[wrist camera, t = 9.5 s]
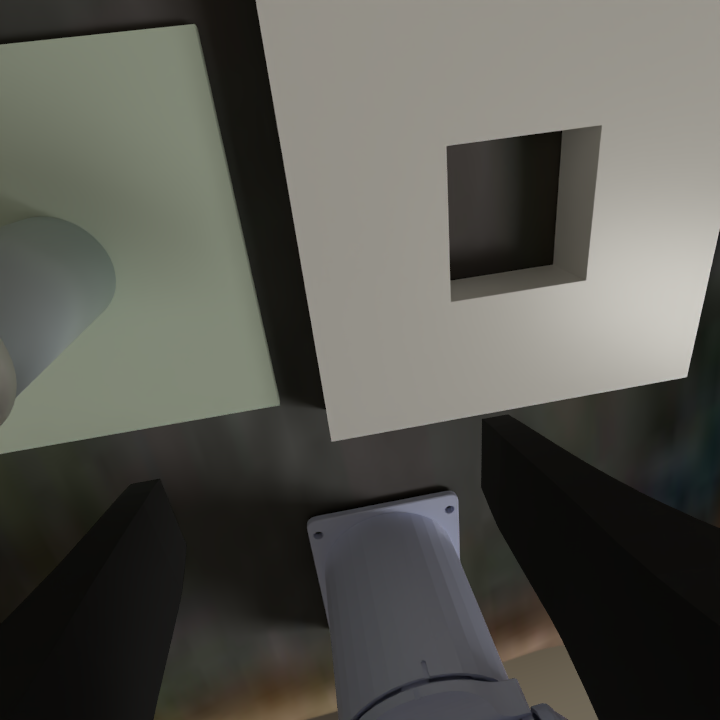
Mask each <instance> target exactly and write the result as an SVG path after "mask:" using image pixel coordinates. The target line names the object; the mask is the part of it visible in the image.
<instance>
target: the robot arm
mask: <svg viewBox="0 0 720 720" xmlns="http://www.w3.org/2000/svg"><path fill="white" fill-rule="evenodd" d="M481 488H482V490H483V493H484V495H485V498H486V500H487V503H488V505H489V507H490V510H491V512H492V514H493V517H494V519H495V521H496V524H497V526H498V528H499V530H500V531H501V533H502V535H503V537H504V539H505V540H506V542H507V544H508V546H509V547H510V549H511V551H512V553H513V554H514V556H515V558H516V560H517V561H518V563H519V565H520V566H521V568H522V570H523V572H524V573H525V575H526V577H527V578H528V580H529V582H530V584H531V585H532V587H533V589H534V591H535V592H536V594H537V596H538V597H539V599H540V601H541V603H542V604H543V606H544V608H545V609H546V611H547V613H548V615H549V616H550V618H551V620H552V622H553V624H554V626H555V627H556V629H557V631H558V633H559V635H560V637H561V639H562V641H563V643H564V645H565V647H566V649H567V651H568V653H569V656H570V658H571V660H572V662H573V664H574V666H575V669H576V671H577V673H578V675H579V677H580V679H581V681H582V684H583V686H584V688H585V690H586V692H587V694H588V697H589V699H590V701H591V704H592V706H593V708H594V710H595V713H596V715H597V717H598V719H599V720H720V528H718V527H715V526H713V525H711V524H708V523H706V522H703V521H701V520H699V519H696V518H694V517H692V516H690V515H688V514H685V513H683V512H681V511H679V510H677V509H674V508H672V507H670V506H668V505H666V504H663V503H661V502H659V501H657V500H655V499H653V498H651V497H649V496H647V495H645V494H643V493H641V492H639V491H637V490H635V489H633V488H631V487H629V486H628V485H626V484H624V483H622V482H620V481H618V480H616V479H614V478H613V477H611V476H609V475H607V474H605V473H604V472H602V471H600V470H598V469H596V468H595V467H593V466H591V465H589V464H588V463H586V462H584V461H583V460H581V459H579V458H578V457H576V456H574V455H573V454H571V453H569V452H568V451H566V450H564V449H563V448H561V447H560V446H558V445H556V444H555V443H553V442H552V441H550V440H548V439H547V438H545V437H544V436H542V435H540V434H539V433H537V432H536V431H534V430H532V429H531V428H529V427H528V426H526V425H525V424H523V423H521V422H520V421H518V420H516V419H515V418H513V417H511V416H510V415H502V416H497V417H492V418H486V419H482V470H481ZM448 506H451V507H449V508H446V507H448ZM307 531H308V535H309V540H310V544H311V549H312V553H313V558H314V562H315V566H316V571H317V575H318V580H319V584H320V589H321V593H322V598H323V602H324V607H325V611H326V616H327V620H328V625H329V629H330V634H331V645H332V655H333V666H334V676H335V687H336V697H337V708H338V718H339V720H568V719H566V718H565V717H563V716H562V715H560V714H559V713H557V712H555V711H554V710H553V709H552V708H551V707H550V706H549V705H547V704H543V703H542V704H538V705H535V706H532V707H531V711H530V708H529V706H528V704H527V702H526V699H525V697H524V694H523V692H522V690H521V688H520V686H519V683H518V681H517V679H515V678H512V679H508V676H507V674H506V671H505V669H504V666H503V664H502V662H501V659H500V657H499V654H498V652H497V650H496V647H495V645H494V642H493V640H492V638H491V635H490V633H489V630H488V628H487V625H486V623H485V621H484V618H483V616H482V613H481V611H480V609H479V606H478V604H477V601H476V599H475V597H474V594H473V592H472V589H471V587H470V584H469V582H468V580H467V577H466V575H465V572H464V570H463V568H462V565H461V563H460V546H459V510H458V498H457V496H456V494H455V493H454V492H453V491H443V492H438V493H433V494H428V495H423V496H417V497H412V498H407V499H402V500H397V501H392V502H387V503H381V504H376V505H371V506H366V507H361V508H356V509H351V510H345V511H340V512H335V513H330V514H325V515H320V516H315V517H312V518H310V519H309V520H308V522H307ZM316 532H321V533H319V534H316ZM186 547H187V545H186V543H185V540H184V538H183V535H182V533H181V530H180V528H179V525H178V523H177V520H176V518H175V515H174V513H173V510H172V508H171V505H170V503H169V501H168V498H167V496H166V493H165V491H164V488H163V486H162V483H161V481H160V479H156V480H151V481H145V482H140V483H135V484H131V485H130V486H129V487H128V488H127V489H126V490H125V491H124V492H123V493H122V494H121V495H120V496H119V497H118V499H117V500H116V501H115V502H114V503H113V504H112V505H111V506H110V508H109V509H108V510H107V511H106V512H105V513H104V514H103V516H102V517H101V518H100V519H99V520H98V521H97V522H96V523H95V525H94V526H93V527H92V528H91V529H90V530H89V531H88V533H87V534H86V535H85V536H84V537H83V538H82V539H81V540H80V541H79V543H78V544H77V545H76V546H75V547H74V548H73V549H72V550H71V551H70V553H69V554H68V555H67V556H66V557H65V558H64V559H63V560H62V561H61V563H60V564H59V565H58V566H57V567H56V568H55V569H54V570H53V571H52V572H51V573H50V574H49V575H48V576H47V577H46V578H45V579H44V580H43V581H42V582H41V583H40V585H39V586H38V587H37V588H36V589H35V590H34V591H33V592H32V593H31V594H30V595H29V596H28V597H27V598H26V599H25V600H24V601H23V602H22V603H21V604H20V605H19V606H18V607H17V608H16V609H15V610H14V611H13V612H12V613H11V614H10V615H9V616H8V617H7V618H6V619H5V620H4V621H3V622H2V623H1V624H0V720H153V719H154V714H155V709H156V704H157V700H158V695H159V691H160V687H161V683H162V678H163V674H164V670H165V665H166V661H167V657H168V652H169V648H170V644H171V639H172V635H173V631H174V626H175V622H176V617H177V613H178V609H179V604H180V599H181V595H182V588H183V579H184V571H185V559H186Z"/></svg>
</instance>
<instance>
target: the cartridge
mask: <svg viewBox="0 0 720 720" xmlns="http://www.w3.org/2000/svg"><path fill="white" fill-rule="evenodd" d="M115 288H116V276H115V270H114V267H113V264H112V261H111V259H110V257H109V255H108V254H107V252H106V250H105V249H104V248H103V246H102V245H101V244H100V243H99V242H98V241H97V240H96V239H95V238H94V237H93V236H92V235H91V234H90V233H88V232H87V231H85V230H84V229H83V228H81V227H79V226H77V225H75V224H73V223H71V222H68V221H66V220H62V219H59V218H54V217H45V216H39V217H31V218H26V219H23V220H20V221H17V222H14V223H11V224H7V225H4V226H1V227H0V426H1V425H2V424H3V423H4V421H5V420H6V419H7V417H8V416H9V414H10V412H11V410H12V408H13V406H14V402H15V398H16V397H17V396H18V395H19V394H20V393H21V392H22V391H23V390H24V389H25V388H26V387H27V386H28V385H29V384H30V383H31V382H32V381H33V380H35V379H36V378H37V377H38V376H39V375H40V374H41V373H42V372H43V371H44V370H45V369H46V368H47V367H48V366H49V365H50V364H51V363H52V362H53V361H54V360H55V359H56V358H57V357H58V356H59V355H60V354H61V353H62V352H63V351H64V350H65V349H66V348H67V347H68V346H69V345H70V344H71V343H72V342H73V341H74V340H75V339H76V338H77V337H78V336H79V335H80V334H81V333H82V332H83V331H84V330H85V329H86V328H87V327H88V326H89V325H90V324H91V323H92V322H93V321H94V320H95V319H96V318H97V317H98V316H99V315H100V314H101V313H102V312H103V311H105V310H106V308H107V307H108V306H109V304H110V303H111V301H112V299H113V296H114V293H115Z"/></svg>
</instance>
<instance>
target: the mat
mask: <svg viewBox="0 0 720 720" xmlns="http://www.w3.org/2000/svg"><path fill="white" fill-rule="evenodd" d="M39 216H45V217H54V218H59V219H62V220H66V221H68V222H71V223H73V224H75V225H77V226H79V227H81V228H83V229H84V230H85V231H87V232H88V233H90V234H91V235H92V236H93V237H94V238H95V239H96V240H97V241H98V242H99V243H100V244H101V245H102V246H103V248H104V249H105V250H106V252H107V254H108V255H109V257H110V259H111V261H112V264H113V267H114V270H115V276H116V288H115V293H114V296H113V299H112V301H111V303H110V304H109V306H108V307H107V308H106V310H105V311H103V312H102V313H101V314H100V315H99V316H98V317H97V318H96V319H95V320H94V321H93V322H92V323H91V324H90V325H89V326H88V327H87V328H86V329H85V330H84V331H83V332H82V333H81V334H80V335H79V336H78V337H77V338H76V339H75V340H74V341H73V342H72V343H71V344H70V345H69V346H68V347H67V348H66V349H65V350H64V351H63V352H62V353H61V354H60V355H59V356H58V357H57V358H56V359H55V360H54V361H53V362H52V363H51V364H50V365H49V366H48V367H47V368H46V369H45V370H44V371H43V372H42V373H41V374H40V375H39V376H38V377H37V378H36V379H35V380H33V381H32V382H31V383H30V384H29V385H28V386H27V387H26V388H25V389H24V390H23V391H22V392H21V393H20V394H19V395H18V396H17V397H16V398H15V402H14V406H13V408H12V410H11V412H10V414H9V416H8V417H7V419H6V420H5V421H4V423H3V424H2V425H1V426H0V454H2V453H8V452H14V451H19V450H25V449H31V448H37V447H42V446H48V445H54V444H60V443H65V442H71V441H77V440H83V439H88V438H94V437H100V436H106V435H111V434H117V433H123V432H129V431H134V430H140V429H146V428H151V427H157V426H163V425H169V424H174V423H180V422H186V421H192V420H197V419H203V418H209V417H215V416H220V415H226V414H232V413H238V412H243V411H249V410H255V409H261V408H266V407H272V406H278V405H280V398H279V394H278V389H277V385H276V380H275V376H274V371H273V367H272V362H271V358H270V353H269V349H268V344H267V340H266V335H265V331H264V326H263V322H262V317H261V313H260V308H259V304H258V299H257V295H256V290H255V286H254V281H253V277H252V272H251V268H250V263H249V258H248V254H247V249H246V245H245V240H244V236H243V231H242V227H241V222H240V218H239V213H238V209H237V204H236V200H235V195H234V191H233V186H232V182H231V177H230V173H229V168H228V164H227V159H226V155H225V150H224V146H223V141H222V137H221V132H220V128H219V123H218V119H217V114H216V109H215V105H214V100H213V96H212V91H211V87H210V82H209V78H208V73H207V69H206V64H205V60H204V55H203V51H202V46H201V42H200V37H199V33H198V28H197V26H196V25H195V24H189V25H180V26H171V27H161V28H152V29H142V30H133V31H124V32H114V33H105V34H96V35H86V36H77V37H67V38H58V39H49V40H39V41H30V42H21V43H11V44H2V45H0V227H1V226H4V225H7V224H11V223H14V222H17V221H20V220H23V219H26V218H31V217H39Z"/></svg>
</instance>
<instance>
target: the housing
mask: <svg viewBox="0 0 720 720" xmlns="http://www.w3.org/2000/svg"><path fill="white" fill-rule="evenodd" d="M256 6H257V11H258V17H259V23H260V29H261V35H262V40H263V46H264V52H265V58H266V64H267V70H268V75H269V81H270V87H271V93H272V99H273V104H274V110H275V116H276V122H277V128H278V133H279V139H280V145H281V151H282V157H283V162H284V168H285V174H286V180H287V186H288V191H289V197H290V203H291V209H292V215H293V220H294V226H295V232H296V238H297V244H298V249H299V255H300V261H301V267H302V273H303V278H304V284H305V290H306V296H307V302H308V308H309V313H310V319H311V325H312V331H313V337H314V342H315V348H316V354H317V360H318V366H319V371H320V377H321V383H322V389H323V395H324V400H325V406H326V412H327V418H328V424H329V429H330V435H331V441H332V442H333V441H338V440H344V439H349V438H355V437H360V436H366V435H371V434H377V433H382V432H388V431H393V430H399V429H404V428H410V427H415V426H421V425H426V424H432V423H437V422H443V421H448V420H454V419H459V418H465V417H470V416H476V415H481V414H487V413H492V412H498V411H503V410H509V409H514V408H520V407H525V406H531V405H536V404H542V403H547V402H553V401H558V400H564V399H569V398H575V397H580V396H586V395H591V394H597V393H602V392H608V391H613V390H619V389H624V388H630V387H635V386H641V385H646V384H651V383H657V382H662V381H668V380H673V379H679V378H684V377H687V374H688V369H689V365H690V360H691V356H692V351H693V347H694V342H695V338H696V333H697V329H698V324H699V320H700V315H701V311H702V306H703V302H704V297H705V292H706V288H707V283H708V279H709V274H710V270H711V265H712V261H713V256H714V252H715V247H716V243H717V238H718V234H719V229H720V0H256ZM561 130H562V143H561V157H560V171H559V186H558V200H557V215H556V229H555V243H554V258H553V265H546V266H540V267H534V268H527V269H521V270H515V271H508V272H502V273H496V274H489V275H483V276H476V277H470V278H464V279H457V280H451V281H450V256H449V223H448V189H447V155H446V146H449V145H456V144H464V143H471V142H479V141H486V140H494V139H501V138H509V137H516V136H524V135H531V134H539V133H546V132H554V131H561Z"/></svg>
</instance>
